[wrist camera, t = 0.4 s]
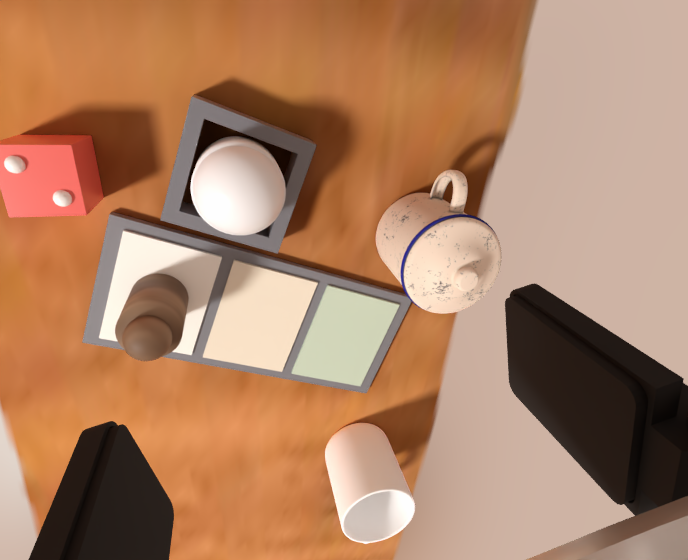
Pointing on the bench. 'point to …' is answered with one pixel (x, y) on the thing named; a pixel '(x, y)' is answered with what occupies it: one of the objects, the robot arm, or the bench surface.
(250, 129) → the dome housing
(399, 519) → the cup
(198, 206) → the dome
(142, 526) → the robot arm
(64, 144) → the red die
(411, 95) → the bench surface
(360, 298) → the game board
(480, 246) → the teacup with lid
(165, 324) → the pawn
